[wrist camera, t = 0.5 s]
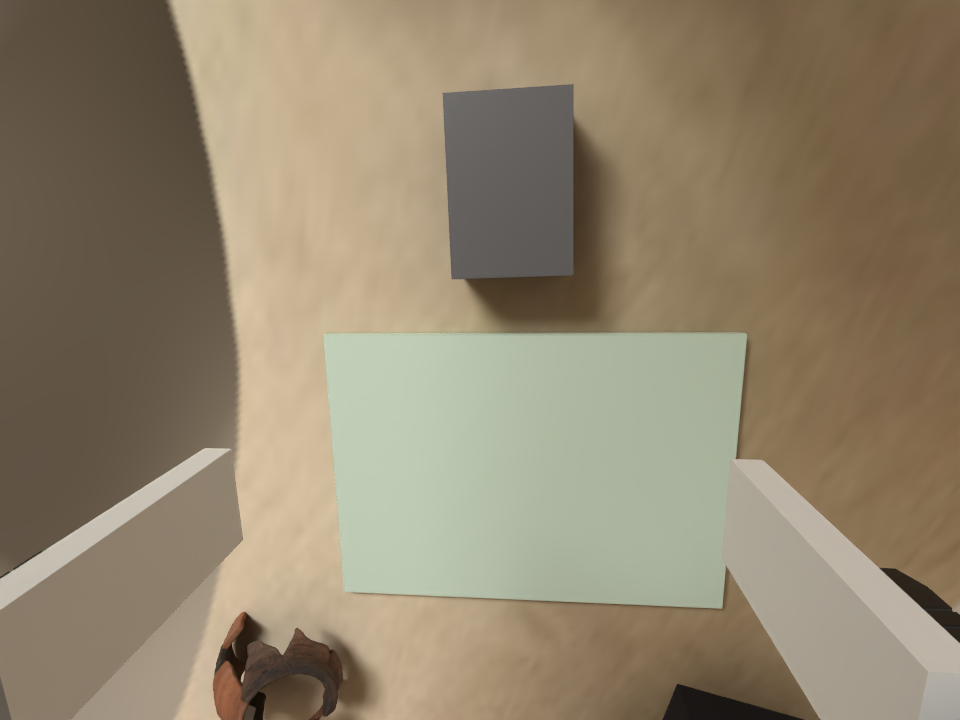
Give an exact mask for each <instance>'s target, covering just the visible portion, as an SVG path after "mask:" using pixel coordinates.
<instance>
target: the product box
mask: <svg viewBox="0 0 960 720" xmlns="http://www.w3.org/2000/svg"><path fill="white" fill-rule="evenodd" d="M663 720H803V719H800V718H796V717H793V716H789V715H786V714H782V713H779V712H775V711H772V710H768V709H764V708H761V707H757V706H754V705H750V704H747V703H743V702H740V701H736V700H733V699H729V698H726V697H722V696H718V695H715V694H711V693H708V692H704V691H701V690H697V689H694V688H690V687H687V686H683V685H680V684H677V686H676V688H675V691H674V693H673V696H672V698H671V701H670V703H669V706H668V708H667V710H666V713H665V715H664V718H663Z"/></svg>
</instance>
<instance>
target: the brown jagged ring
mask: <svg viewBox="0 0 960 720" xmlns="http://www.w3.org/2000/svg"><path fill="white" fill-rule="evenodd" d="M246 617H247V613H246V612H243V613H241V614H240V615H239V616H238V617H237V618H236V620H235V621H234V623H233V624H232V626H231V628H230V630H229V632H228V635H227V637H226V639H225V641H224V643H223V645H222V647H221V649H220V653H219V657H218V659H217V662H216V669H215V674H214V675H215V676H214V681H213V691H214V700H215V706H216V710H217V714H218V716H219V717H220V718H221V720H263V711H264V703H265V699H266V695H265V694H264V693H262V692H260V690H261V689H262V688H264V687H265V686H266V685H268V684H270V683H271V682H273V681H275V680H277V679H279V678H281V677H285V676H288V675H292V674H293V675H295V674H303V675H310V676H313V677H316V678H317V679H318V680H320V681H321V682H322V684H323V685H324V687H325V691H324V694H323V705H322V707H321V708H320V709H319V711H318V712H317V713H316V714H315V715H314V716H313V717H312V718H310V719H309V720H319V719H320V718H321V717H322V715H323V716H324V717H327V716H328V715H329V714H331V713H332V712H333V711H334V710H335V708H336V704H337V699H338V689H339V686H340V684H341V683H342V679H343V672H342V666H341V662H340V660H339V658H338V656H337V654H336V652H335V651H334V650H329V648H328V646H327V645H324V644H322V643H318V642H315V641H312V640H310V639H309V638H307V637H306V636H305V635H304V633H303V632H302V631H301V630H299V629H298V628H296V629H295V634H294V636H293V639H292V640H291V642H290V644H289V646H288V648H287V650H286V651H285V653H284V655H281V654H280V653H279V651H278V649H276V648H275V647H272V646H270V645H266V644H264V643H263V642H262V641H255V642H252V643H250V644H249V645H248V646H247V653H248V659H247V661H246V666H245V665H244V664H243V663H242V662H240V661H239V660H238V658H237V657H236V656H235V654H234V651H233V648H232V642H233V641H234V640H235V638H236V637H237V636H238V635H239V634H240V633H241V632H242V630H243V629H244V621H245V619H246ZM244 670H245V675H244V680H243V683H242V682H241V676H242V673H243V672H244Z"/></svg>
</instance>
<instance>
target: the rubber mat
mask: <svg viewBox="0 0 960 720" xmlns="http://www.w3.org/2000/svg"><path fill="white" fill-rule="evenodd" d="M323 337H324V350H325V362H326V374H327V386H328V399H329V411H330V423H331V436H332V448H333V460H334V472H335V485H336V497H337V509H338V521H339V534H340V546H341V558H342V571H343V583H344V592H360V593H383V594H405V595H428V596H450V597H473V598H495V599H518V600H540V601H563V602H585V603H608V604H630V605H653V606H675V607H698V608H720V609H722V604H723V593H724V582H725V572H726V564H725V563H724V561H723V559H722V558H721V555H722V544H723V534H724V524H725V513H726V503H727V492H728V482H729V471H730V461H731V459H736V452H737V441H738V430H739V419H740V408H741V397H742V386H743V375H744V364H745V353H746V343H747V334H746V333H743V332H627V333H327V334H325V335H323Z"/></svg>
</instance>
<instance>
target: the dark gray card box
mask: <svg viewBox="0 0 960 720" xmlns="http://www.w3.org/2000/svg"><path fill="white" fill-rule="evenodd" d="M443 108H444V129H445V150H446V170H447V191H448V212H449V233H450V254H451V275H452V279H474V278H504V277H535V276H566V275H573V84H572V85H557V86H542V87H527V88H512V89H497V90H483V91H468V92H453V93H443Z"/></svg>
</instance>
